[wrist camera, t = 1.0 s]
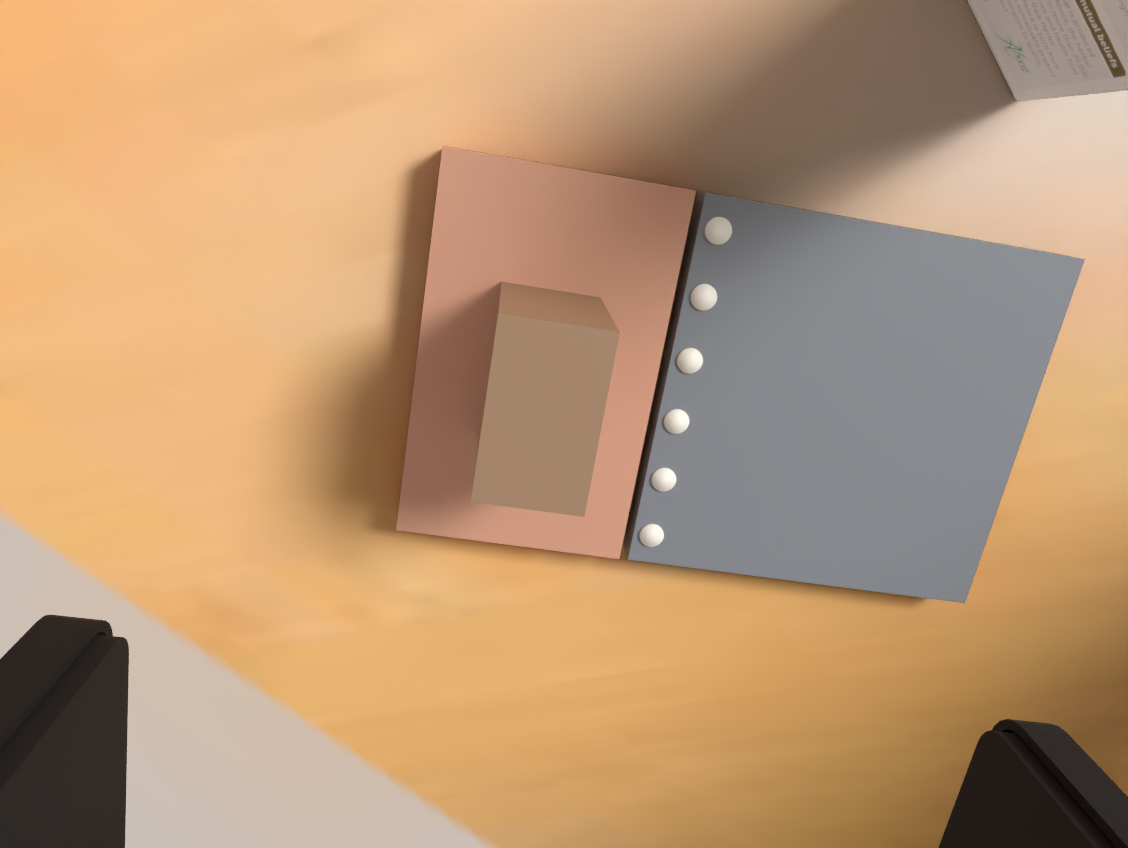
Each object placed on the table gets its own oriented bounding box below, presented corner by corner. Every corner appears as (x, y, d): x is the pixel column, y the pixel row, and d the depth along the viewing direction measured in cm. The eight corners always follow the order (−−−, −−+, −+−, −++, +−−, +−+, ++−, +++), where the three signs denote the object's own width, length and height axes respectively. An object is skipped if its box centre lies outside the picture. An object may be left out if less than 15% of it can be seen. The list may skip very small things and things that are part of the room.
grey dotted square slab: (1061, 254, 27) (1086, 259, 26) (948, 586, 31) (966, 604, 30) (697, 190, 26) (706, 192, 25) (623, 543, 30) (628, 560, 29)
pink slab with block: (688, 189, 26) (738, 202, 20) (615, 544, 30) (640, 641, 24) (445, 146, 25) (424, 147, 20) (400, 516, 29) (371, 609, 23)
